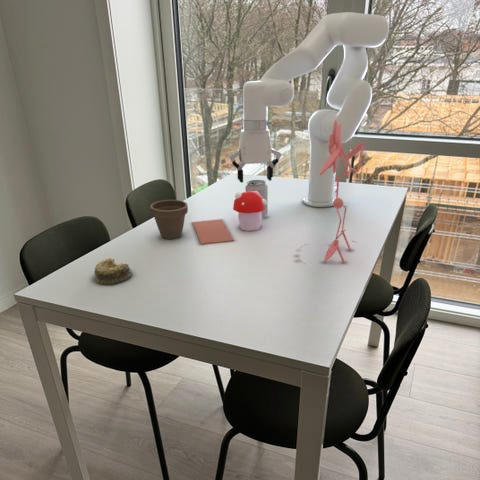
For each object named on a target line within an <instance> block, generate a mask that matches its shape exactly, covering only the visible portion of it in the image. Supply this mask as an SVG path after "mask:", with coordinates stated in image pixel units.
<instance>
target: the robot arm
mask: <svg viewBox="0 0 480 480" xmlns="http://www.w3.org/2000/svg"><path fill="white" fill-rule="evenodd" d="M389 30H390V26H389V22H388V20H387V19H386V18H385V17H384V16H382V15H381V14H373V13H362V12H361V13H360V12H353V11H352V12H351V11H345V12H334V13H329V14H326V15H325V16H324V17H322V18H321V20H320V21H319V22H318V23H317V24H316V25H315V26H314V28H313V29H312V30H311V31H310V32H309V33H308V34H307V35H306V37H305V38H304V39H303V40H302V41H301V42H300V43H299V45H298V46H296V47H295V48H294V49H293V50H291V51H289V52H288V53H287V54H285V55H284V56H283V57H281V58H280V59H279V60H277V61H276V62H275V63H274V64H272V66H270V67H269V68H268V69H267V71H266V72H265V73H264V74H263V75H262V77H260V79H259V80H251V81H245V82H244V84H243V87H242V88H243V89H242V92H243V93H242V97H243V98H242V99H243V100H242V103H243V104H242V105H243V108H242V109H243V113H242V114H243V115H242V116H243V118H242V119H243V129H241V130H240V134H239V142H238V143H239V145H238V150H236V151H234V152H233V153H231V154H230V155H228V158H229V161H230V162H231V165H233V166H234V167H235V168H236V170H237V171H236V173H237V180H238V181H239V182H240V183H244V170H243V168H244V167H245V165H253V164H267V167H266V179H267V180H268V181H269V182H270V181H272V178H274V168H275V167H276V165H277V164H278V163H279V160H281V158H282V153H281V152H279V151H278V150H276V149H274V148H272V139H271V132H270V129H269V127H270V126H272V125H273V121H272V120H269V119H268V118H269V117H268V116H269V115H268V114H269V113H268V108H269V107H276V108H284V107H287V106H288V105H290V104H291V103H292V102H293V100H294V97H295V89H294V86H293V85H292V84H291V83H290V82H291V81H292V80H294V79H295V78H298V77H301V76H304V75H307V74H309V73H311V72H314V71H315V70H317V68H318V67H319V66H320V65H321V64H322V62H323V61H324V60H325V59H326V58H327V56H328V55H330V53H331V52H332V51H333V50H334V49H335V47H337V46H342V47H343V60H342V63H341V66H340V68H339V70H338V72H337V74H336V75H335V78H334V79H333V81H332V84H331V85H330V87H329V90H328V91H327V95H326V102H327V104H328V105H329V106H330V107H331V108H332V109H329V108H327V109H325V108H324V109H319V110H316V111H314V112H313V113H312V115H311V116H310V118H309V120H308V125H307V127H308V137H309V162H308V163H309V165H308V166H309V167H308V186H307V188H308V189H307V190H308V191H307V196H305V197H304V198H303V203H304V204H305V205H306V206H309V207H314V208H329V207H334V206H333V201H334V200H335V199H336V196H335V193H336V189H337V186H336V176H337V175H336V174H337V171H336V172H335V173H333V166H332V167H331V168H330V169H329V168H328V169H327V170H326V171H325V172H324V173H323V174H322V175H320V172H321V169H322V167H323V166H324V164H325V162H326V161H327V160H328V158H329V157H330V153H329V148H328V145H329V144H328V143H329V137H330V134H332V133H333V125H334V121H335V120H337V126H338V125H339V124H340V123H341V137H340V139H341V141H342V144H345V143H347V142H348V141H350V140H351V139H352V138H353V137H354V135H355V133H356V132H357V130H358V128H359V126H360V125H361V122H362V121H363V119H364V117H365V115H366V114H367V111H368V110H369V107H370V106H371V102H372V97H373V89H372V87H371V84H370V83H369V82H368V81H367V80H364V78H365V76H366V73H367V71H368V67H369V59H368V53H367V48H378V47H379V46H382V45H383V44H384V43H385V41H386V40H387V38H388V35H389ZM335 109H336V110H335ZM272 155H275V156H274V158H273V159H272ZM237 157H238V160H239V162H238V163H237V161H236V158H237ZM271 160H272V161H271ZM338 191H339V188H338Z"/></svg>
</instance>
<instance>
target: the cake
mask: <svg viewBox="0 0 480 480" xmlns="http://www.w3.org/2000/svg"><path fill="white" fill-rule="evenodd" d="M93 274H94V282H95V283H97V284H99V285H114V284H115V285H116V284H118V283H121V282H124V281H126V280H127V279H129V278H130V277H131V276H132V275H133V270H132V269H131V268H130V266H129V264H128V263H126V262H124V263H123V262H121V263H119V264H117V263H116V262H115V258H110V257H109V258H106V259H102V260H101V261H100V262H97V264H96V265H95V267H94V271H93Z"/></svg>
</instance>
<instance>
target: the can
mask: <svg viewBox="0 0 480 480" xmlns="http://www.w3.org/2000/svg"><path fill="white" fill-rule="evenodd" d="M244 188H245V189H244V190H245V192H246V191H258V192H259V194H260V195H261V196H262V197H263V198H264V199H265V200H266V201H267V204H266V210H263V211H261V214H262V219H265V217H266V216H267V215H268V212H269V209H268V207H269V205H268V204H269V203H268V201H269V200H268V193H269V191H268V188H269V187H268V185H267V183H266V180H263V179H251V180H248V181H247V182H246V185H245V187H244Z"/></svg>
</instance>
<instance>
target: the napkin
mask: <svg viewBox="0 0 480 480" xmlns="http://www.w3.org/2000/svg"><path fill="white" fill-rule="evenodd" d="M192 225H193V228H194V230H195V233H196V235H197V238H198V240H199V243H200V245H210V244H218V243H228V242H234V239H233V237H232V235H231V234H230V232H229V230H228V228H227V226H226V225H225V223H224V220H223V219H212V220H202V221H192Z"/></svg>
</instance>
